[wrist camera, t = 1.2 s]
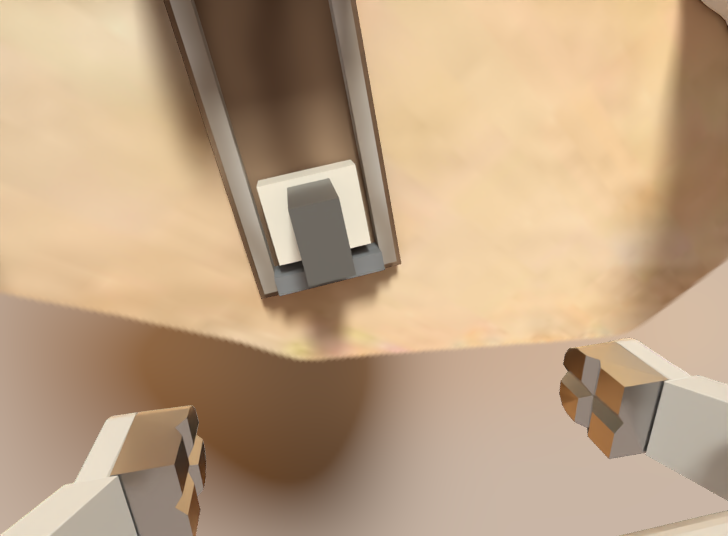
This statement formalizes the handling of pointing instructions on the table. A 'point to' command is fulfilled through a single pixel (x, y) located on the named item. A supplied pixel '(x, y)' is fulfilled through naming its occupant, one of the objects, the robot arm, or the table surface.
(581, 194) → the table surface
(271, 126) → the track
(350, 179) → the carriage
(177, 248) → the table surface
